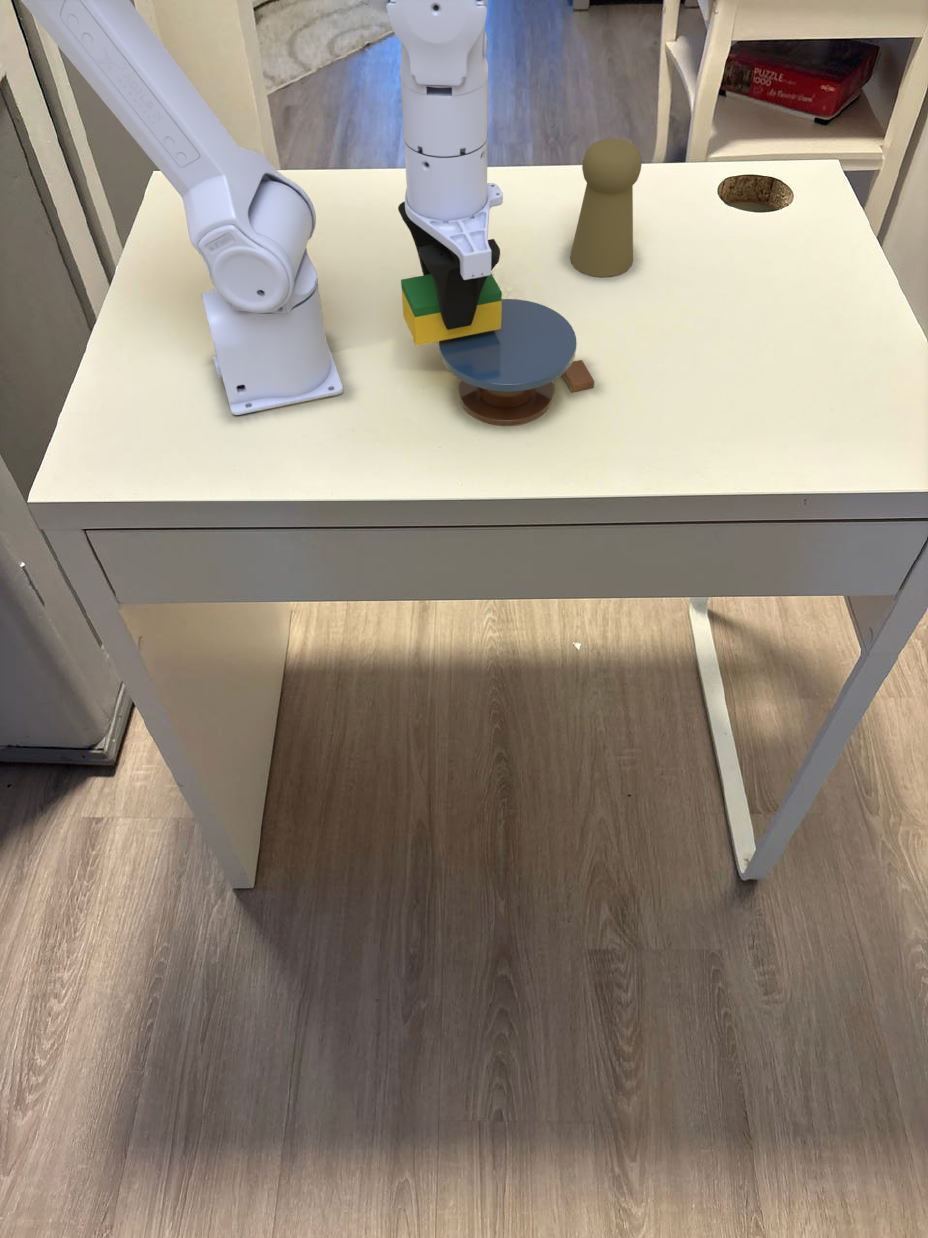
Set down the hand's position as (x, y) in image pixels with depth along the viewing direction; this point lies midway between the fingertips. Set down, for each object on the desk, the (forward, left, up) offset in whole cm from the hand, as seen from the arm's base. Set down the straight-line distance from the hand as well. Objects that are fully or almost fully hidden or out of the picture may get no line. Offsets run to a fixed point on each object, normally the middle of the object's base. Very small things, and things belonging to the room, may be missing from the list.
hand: (450, 308), depth 78 cm
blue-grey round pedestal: (+4, -3, -8) cm, 9 cm away
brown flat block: (+10, -3, -7) cm, 13 cm away
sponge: (0, 0, -1) cm, 1 cm away
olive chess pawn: (+19, +13, -8) cm, 25 cm away
